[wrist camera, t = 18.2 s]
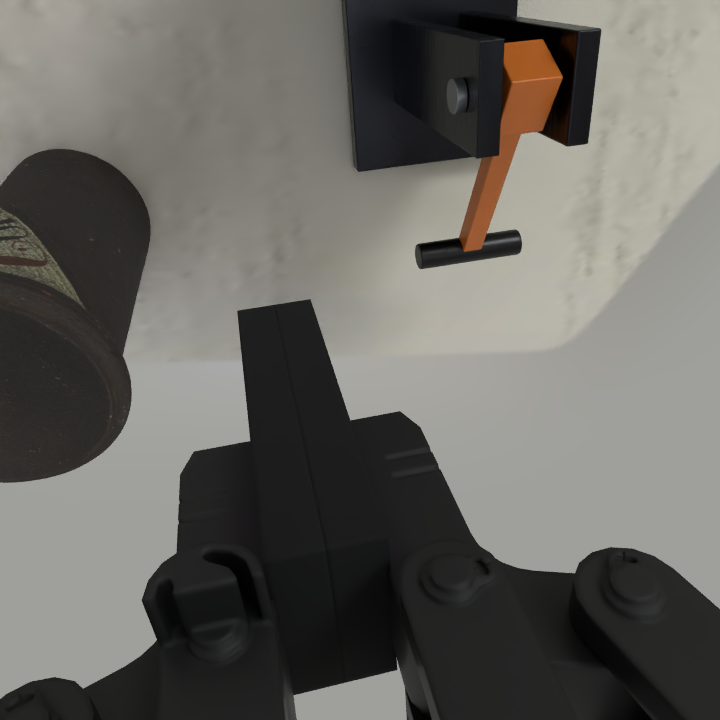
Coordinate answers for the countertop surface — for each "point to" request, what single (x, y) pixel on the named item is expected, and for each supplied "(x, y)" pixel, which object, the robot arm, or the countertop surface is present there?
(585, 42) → the switch bracket
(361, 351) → the countertop surface
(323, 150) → the countertop surface
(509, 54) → the switch lever
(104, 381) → the container
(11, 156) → the countertop surface
